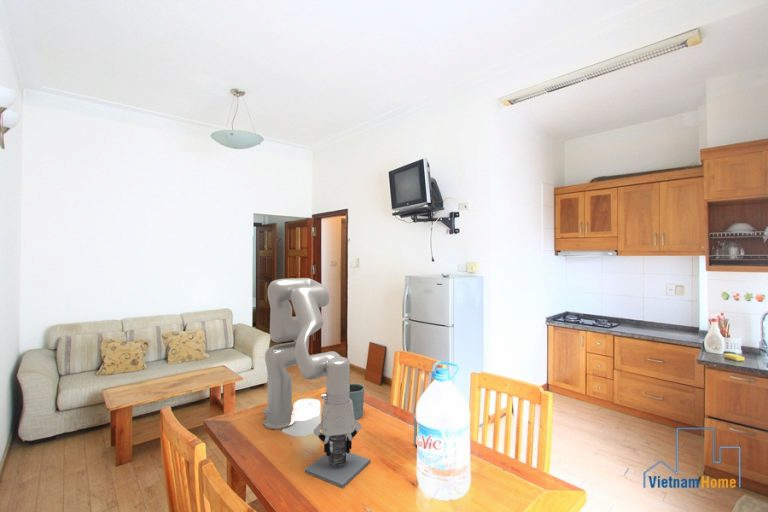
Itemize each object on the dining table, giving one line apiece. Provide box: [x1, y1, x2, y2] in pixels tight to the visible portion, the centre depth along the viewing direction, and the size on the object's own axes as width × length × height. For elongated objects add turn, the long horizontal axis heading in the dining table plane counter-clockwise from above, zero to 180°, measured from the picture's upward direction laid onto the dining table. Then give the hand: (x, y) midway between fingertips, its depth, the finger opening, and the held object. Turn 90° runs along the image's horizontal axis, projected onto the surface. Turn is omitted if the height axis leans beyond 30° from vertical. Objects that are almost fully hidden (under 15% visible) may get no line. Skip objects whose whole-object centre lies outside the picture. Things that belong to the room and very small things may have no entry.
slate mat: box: [304, 452, 371, 489], centre depth 115 cm, size 15×15×1 cm
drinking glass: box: [350, 382, 365, 421], centre depth 152 cm, size 10×10×12 cm
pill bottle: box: [328, 434, 347, 466], centre depth 115 cm, size 6×6×11 cm
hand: (337, 451), depth 115 cm, fingers closed on pill bottle, 6 cm apart
